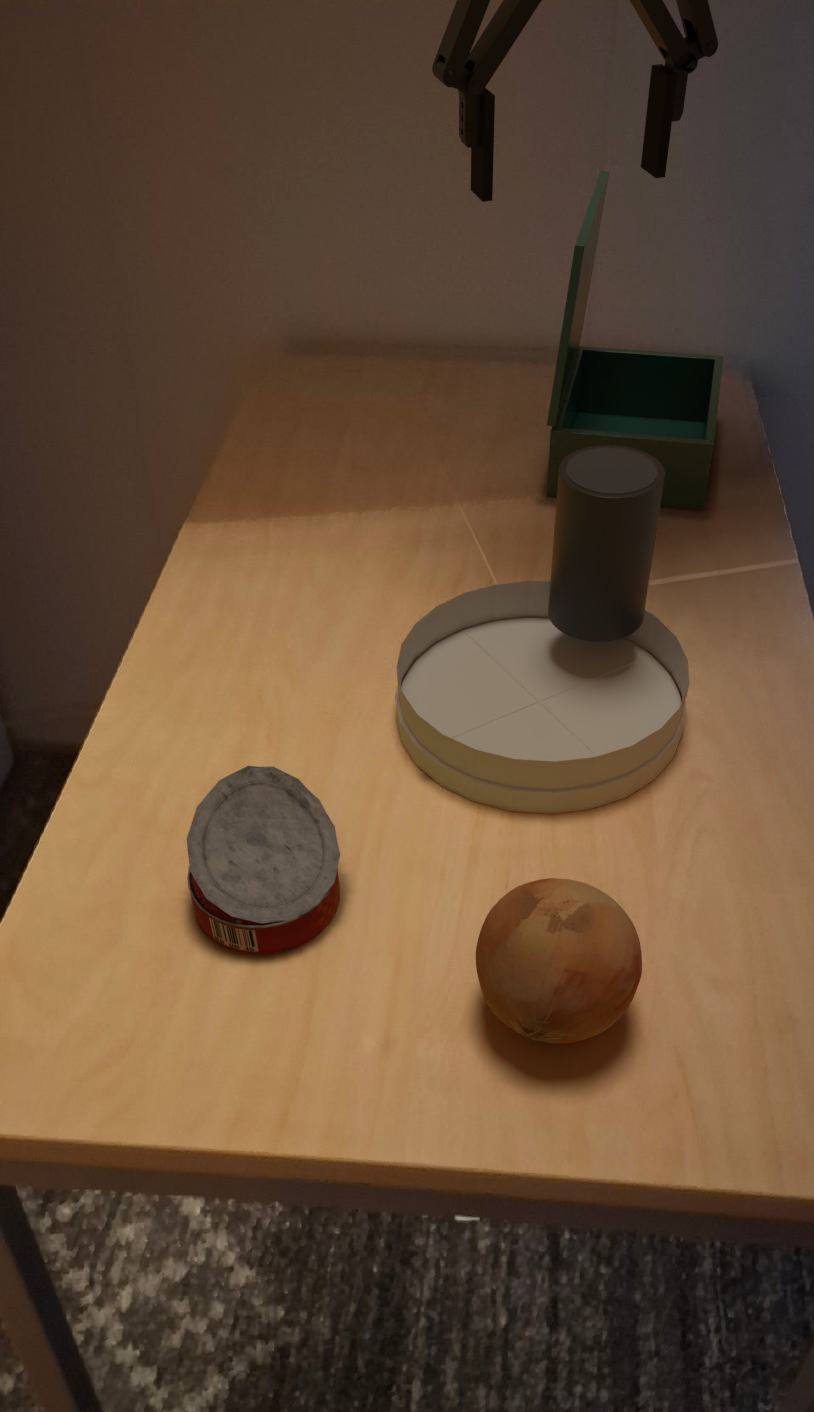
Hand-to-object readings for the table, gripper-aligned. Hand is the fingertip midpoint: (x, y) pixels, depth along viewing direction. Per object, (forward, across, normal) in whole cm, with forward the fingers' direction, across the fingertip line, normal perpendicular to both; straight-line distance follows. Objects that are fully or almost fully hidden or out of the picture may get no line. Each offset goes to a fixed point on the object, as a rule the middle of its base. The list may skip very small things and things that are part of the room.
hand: (568, 184), depth 86 cm
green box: (+29, -13, -9) cm, 33 cm away
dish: (+29, +10, +24) cm, 39 cm away
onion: (+29, +19, +50) cm, 61 cm away
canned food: (+29, +34, +36) cm, 58 cm away
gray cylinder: (+24, +4, +20) cm, 31 cm away
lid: (+14, -7, -12) cm, 20 cm away
